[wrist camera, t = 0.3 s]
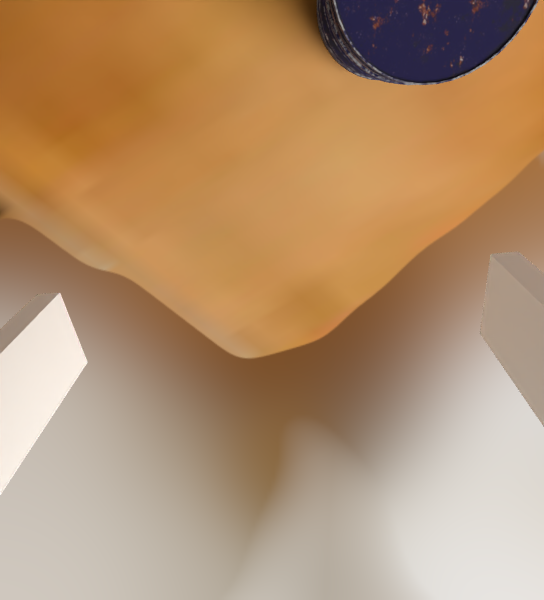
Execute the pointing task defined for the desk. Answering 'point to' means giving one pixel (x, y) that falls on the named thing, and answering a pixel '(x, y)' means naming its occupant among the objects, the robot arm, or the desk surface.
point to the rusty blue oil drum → (418, 36)
